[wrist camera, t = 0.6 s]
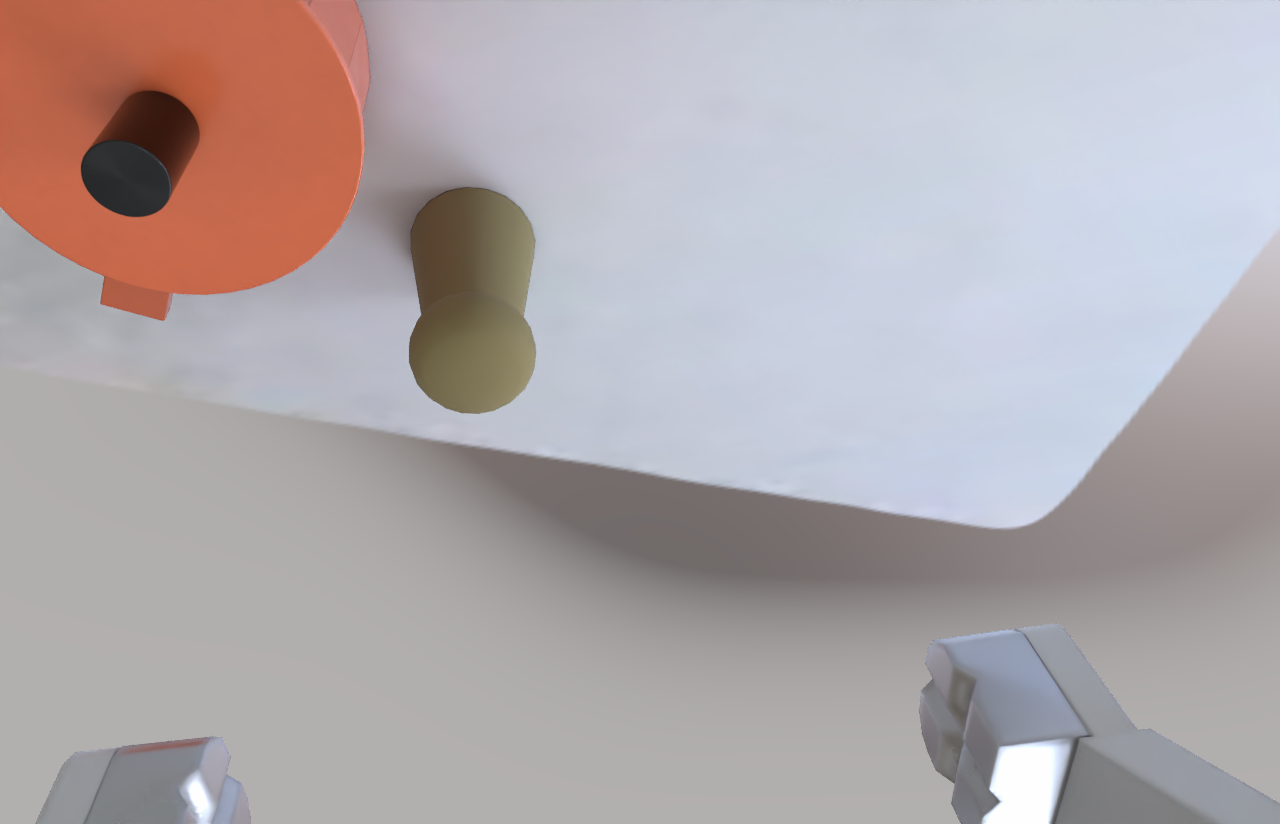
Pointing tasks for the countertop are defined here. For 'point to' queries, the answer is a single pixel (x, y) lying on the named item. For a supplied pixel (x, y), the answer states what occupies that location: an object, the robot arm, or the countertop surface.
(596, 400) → the countertop surface
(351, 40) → the pot
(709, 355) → the countertop surface
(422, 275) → the cork
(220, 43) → the pot lid
